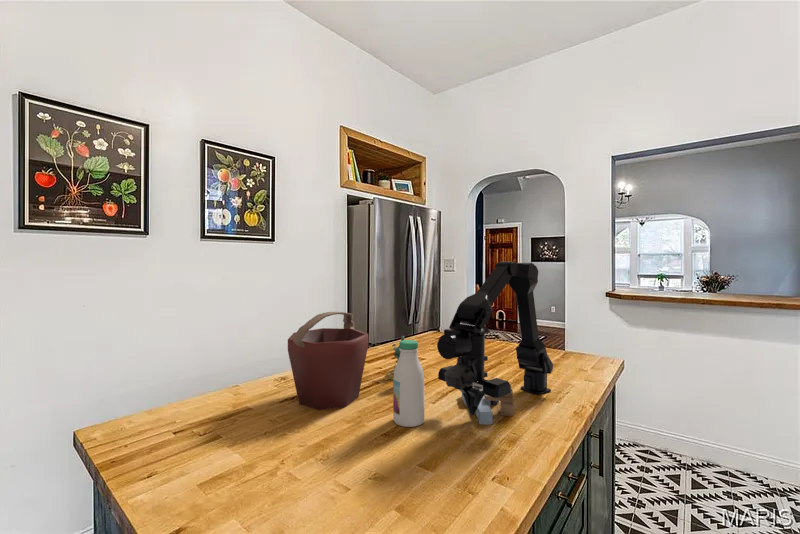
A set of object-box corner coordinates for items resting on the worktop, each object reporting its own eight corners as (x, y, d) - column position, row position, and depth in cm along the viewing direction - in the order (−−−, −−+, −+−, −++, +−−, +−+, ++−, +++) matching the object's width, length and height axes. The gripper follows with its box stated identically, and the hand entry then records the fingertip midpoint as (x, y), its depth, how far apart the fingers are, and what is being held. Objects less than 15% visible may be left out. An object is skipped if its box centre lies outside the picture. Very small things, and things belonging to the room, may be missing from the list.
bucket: (342, 380, 128) (341, 305, 127) (387, 397, 112) (386, 312, 111) (272, 400, 110) (271, 313, 110) (314, 423, 95) (313, 322, 94)
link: (461, 396, 112) (461, 386, 112) (485, 396, 112) (485, 386, 112) (471, 424, 94) (471, 412, 93) (500, 424, 93) (500, 412, 93)
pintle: (494, 399, 109) (494, 385, 109) (501, 403, 107) (501, 388, 107) (486, 401, 108) (486, 386, 108) (493, 405, 106) (493, 389, 106)
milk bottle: (428, 417, 98) (427, 339, 97) (419, 429, 91) (419, 345, 90) (399, 413, 100) (399, 337, 100) (389, 425, 93) (388, 343, 93)
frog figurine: (432, 373, 136) (429, 332, 135) (392, 389, 125) (388, 345, 123) (414, 366, 144) (411, 328, 142) (375, 382, 132) (371, 340, 131)
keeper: (485, 408, 103) (485, 386, 103) (512, 410, 102) (512, 388, 102) (484, 414, 99) (484, 391, 99) (512, 416, 98) (513, 393, 98)
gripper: (423, 350, 98) (423, 411, 98) (483, 366, 83) (483, 437, 84) (452, 344, 105) (452, 400, 105) (512, 357, 91) (511, 423, 91)
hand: (472, 414), depth 96 cm, fingers closed
